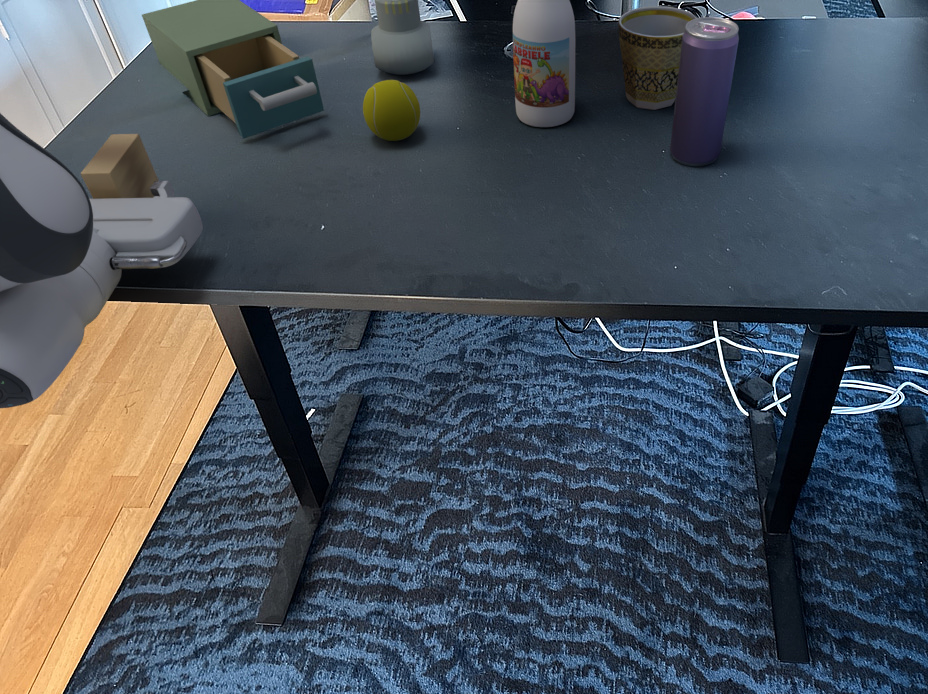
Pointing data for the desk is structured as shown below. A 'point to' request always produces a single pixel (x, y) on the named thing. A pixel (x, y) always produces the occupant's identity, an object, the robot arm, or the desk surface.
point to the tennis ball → (391, 110)
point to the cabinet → (202, 38)
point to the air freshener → (401, 38)
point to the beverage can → (703, 89)
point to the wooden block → (120, 169)
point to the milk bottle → (544, 62)
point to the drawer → (260, 84)
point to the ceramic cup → (652, 54)
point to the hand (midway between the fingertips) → (121, 187)
